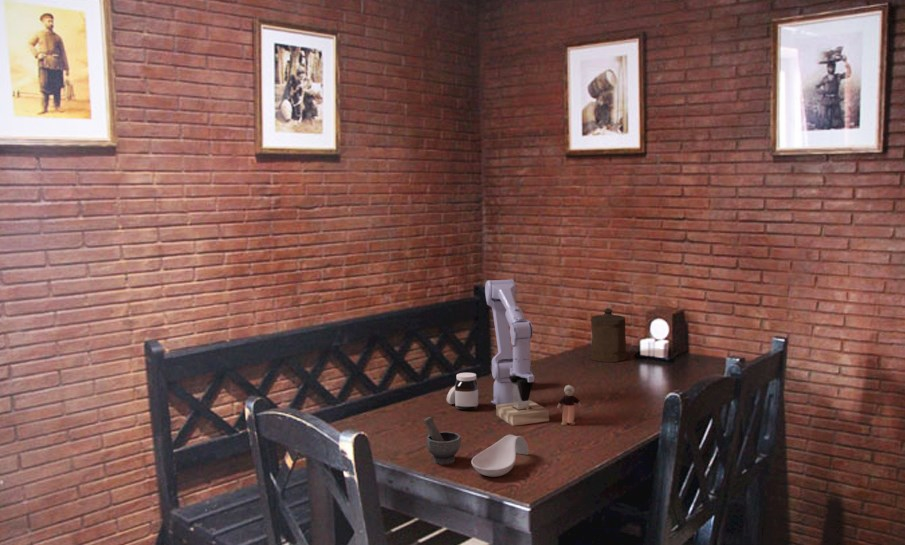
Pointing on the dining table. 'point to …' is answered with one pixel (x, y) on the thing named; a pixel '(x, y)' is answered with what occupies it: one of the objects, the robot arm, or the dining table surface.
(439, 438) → the mortar and pestle
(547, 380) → the dining table surface
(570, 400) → the grandmother figurine
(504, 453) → the spoon rest
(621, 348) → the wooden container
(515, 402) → the steel peg
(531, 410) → the maple hole block
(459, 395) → the spread jar
